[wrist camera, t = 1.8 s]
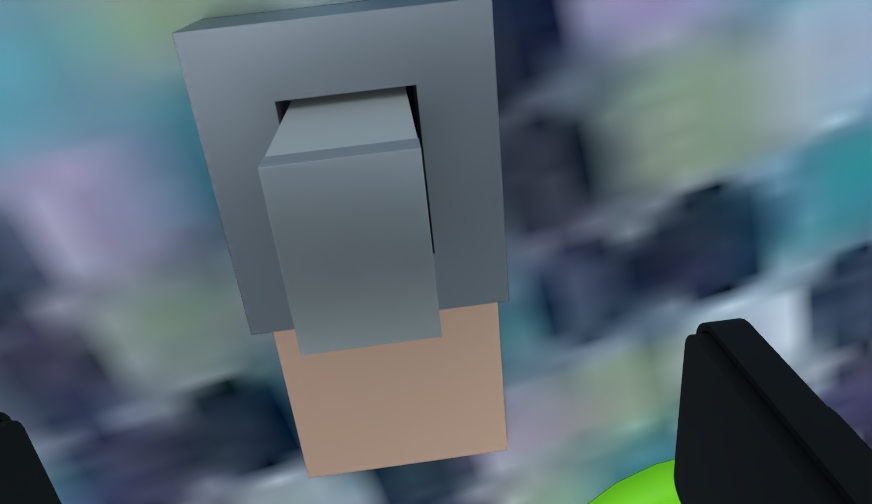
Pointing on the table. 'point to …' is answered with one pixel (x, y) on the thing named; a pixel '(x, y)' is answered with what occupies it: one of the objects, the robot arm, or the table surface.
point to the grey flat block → (344, 73)
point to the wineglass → (644, 487)
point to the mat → (400, 396)
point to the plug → (352, 221)
